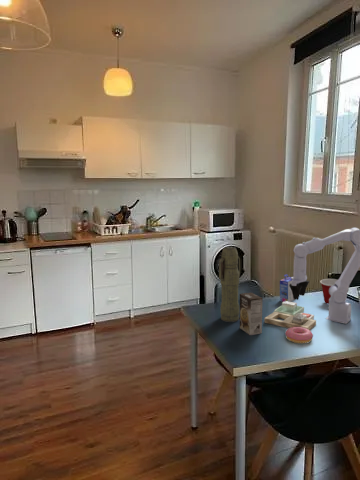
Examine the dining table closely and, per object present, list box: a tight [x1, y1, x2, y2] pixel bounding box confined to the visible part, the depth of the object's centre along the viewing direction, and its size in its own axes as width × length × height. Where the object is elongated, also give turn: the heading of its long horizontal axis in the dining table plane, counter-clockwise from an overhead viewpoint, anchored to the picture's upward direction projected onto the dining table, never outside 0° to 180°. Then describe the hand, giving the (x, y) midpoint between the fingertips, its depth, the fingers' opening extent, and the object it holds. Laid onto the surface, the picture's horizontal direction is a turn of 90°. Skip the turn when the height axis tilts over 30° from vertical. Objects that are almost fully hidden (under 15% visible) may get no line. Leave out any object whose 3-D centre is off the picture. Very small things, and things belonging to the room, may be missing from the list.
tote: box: [273, 305, 305, 316], centre depth 181 cm, size 10×13×2 cm
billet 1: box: [281, 301, 298, 314], centre depth 181 cm, size 4×6×5 cm, turn 51°
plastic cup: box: [319, 278, 338, 305], centre depth 195 cm, size 11×11×12 cm
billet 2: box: [293, 314, 307, 325], centre depth 164 cm, size 4×6×5 cm, turn 141°
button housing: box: [300, 312, 315, 320], centre depth 172 cm, size 6×6×2 cm
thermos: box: [218, 246, 241, 323], centre depth 173 cm, size 9×12×35 cm
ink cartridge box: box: [279, 273, 296, 303], centre depth 201 cm, size 10×6×14 cm, turn 138°
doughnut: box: [284, 327, 314, 344], centre depth 151 cm, size 11×11×4 cm
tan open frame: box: [264, 311, 317, 331], centre depth 167 cm, size 20×11×2 cm, turn 51°
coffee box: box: [239, 292, 263, 336], centre depth 160 cm, size 9×6×16 cm
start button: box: [302, 312, 312, 318], centre depth 172 cm, size 4×4×2 cm
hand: (298, 297), depth 175 cm, fingers open, 7 cm apart
